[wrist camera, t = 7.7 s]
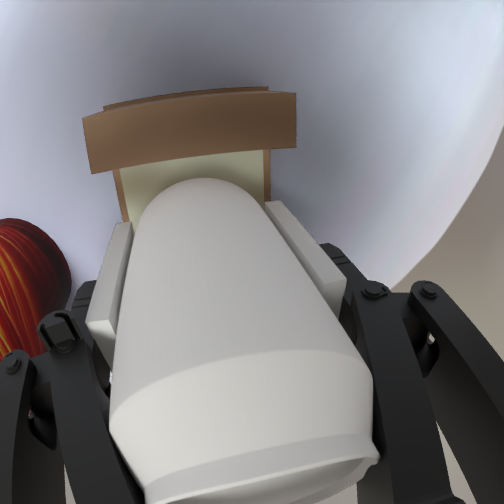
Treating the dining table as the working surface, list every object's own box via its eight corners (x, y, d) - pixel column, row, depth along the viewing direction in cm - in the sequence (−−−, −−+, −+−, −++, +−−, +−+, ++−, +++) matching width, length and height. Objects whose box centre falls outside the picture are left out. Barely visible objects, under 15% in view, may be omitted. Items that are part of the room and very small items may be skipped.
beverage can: (114, 250, 14) (77, 515, 4) (186, 144, 12) (252, 422, 2) (213, 303, 17) (272, 523, 7) (288, 219, 15) (442, 431, 5)
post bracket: (106, 105, 16) (70, 115, 10) (263, 86, 17) (306, 87, 12) (141, 278, 22) (135, 345, 17) (267, 258, 24) (297, 317, 18)
